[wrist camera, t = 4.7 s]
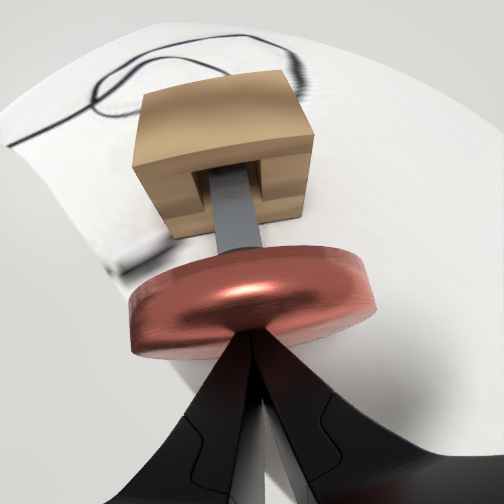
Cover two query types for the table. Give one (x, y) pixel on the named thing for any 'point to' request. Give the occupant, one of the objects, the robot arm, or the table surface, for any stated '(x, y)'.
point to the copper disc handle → (246, 287)
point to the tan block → (223, 147)
